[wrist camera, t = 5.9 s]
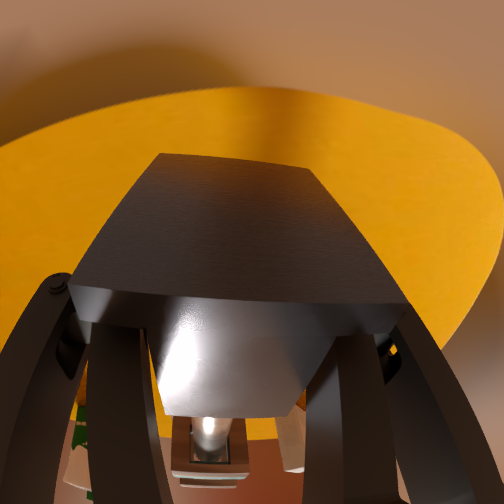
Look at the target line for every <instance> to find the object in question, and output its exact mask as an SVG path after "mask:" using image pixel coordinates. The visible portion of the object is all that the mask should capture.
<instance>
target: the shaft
mask: <svg viewBox="0 0 504 504" xmlns="http://www.w3.org/2000/svg"><path fill="white" fill-rule="evenodd" d="M67 285H68V288H69V291H70V294H71V297H72V300H73V303H74V306H75V309H76V311H77V314H78V317H79V319H80V320H83V321H89V322H95V323H101V324H108V325H115V326H122V327H130V328H138V329H146V334H147V339H148V344H149V349H150V354H151V358H152V363H153V367H154V372H155V376H156V380H157V384H158V388H159V392H160V396H161V399H162V403H163V407H164V410H165V414H166V415H175V416H187V417H191V419H192V431H193V441H194V451H195V455H196V457H197V458H198V459H199V460H201V461H211V462H216V461H218V460H219V459H220V458H221V457H222V454H223V451H224V448H225V444H226V441H227V437H228V434H229V430H230V427H231V423H232V420H233V418H271V417H287V415H288V414H289V413H290V411H291V410H292V408H293V407H294V405H295V404H296V402H297V401H298V399H299V398H300V396H301V395H302V393H303V392H304V390H305V389H306V387H307V385H308V384H309V382H310V381H311V379H312V378H313V376H314V374H315V373H316V371H317V370H318V368H319V366H320V365H321V363H322V361H323V360H324V358H325V356H326V354H327V353H328V351H329V349H330V348H331V346H332V344H333V342H334V341H335V339H336V337H337V336H352V335H368V334H382V333H390V332H391V331H392V329H393V328H394V326H395V325H396V323H397V322H398V320H399V319H400V317H401V315H402V314H403V312H404V311H405V309H406V307H407V306H408V304H409V302H408V300H407V298H406V297H405V295H404V294H403V292H402V291H401V289H400V288H399V286H398V285H397V283H396V282H395V280H394V279H393V277H392V276H391V274H390V273H389V271H388V270H387V268H386V267H385V266H384V264H383V263H382V261H381V260H380V258H379V257H378V256H377V254H376V253H375V251H374V250H373V249H372V247H371V246H370V245H369V243H368V242H367V241H366V239H365V238H364V236H363V235H362V234H361V233H360V231H359V230H358V229H357V227H356V226H355V225H354V223H353V222H352V221H351V219H350V218H349V217H348V216H347V214H346V213H345V212H344V211H343V209H342V208H341V207H340V206H339V204H338V203H337V202H336V201H335V199H334V198H333V197H332V196H331V195H330V193H329V192H328V191H327V190H326V189H325V187H324V186H323V185H322V184H321V183H320V181H319V180H318V179H317V178H316V177H315V176H314V174H313V173H312V172H311V171H310V170H309V169H306V168H300V167H293V166H287V165H280V164H273V163H266V162H258V161H250V160H241V159H232V158H222V157H211V156H199V155H184V154H166V153H159V155H158V156H157V157H156V158H155V159H154V160H153V162H152V163H151V164H150V165H149V166H148V168H147V169H146V170H145V171H144V172H143V174H142V175H141V176H140V177H139V179H138V180H137V181H136V182H135V184H134V185H133V186H132V187H131V189H130V190H129V191H128V193H127V194H126V195H125V197H124V198H123V199H122V201H121V202H120V203H119V205H118V206H117V207H116V209H115V210H114V211H113V213H112V214H111V216H110V217H109V218H108V220H107V221H106V223H105V224H104V226H103V227H102V229H101V230H100V231H99V233H98V234H97V236H96V237H95V239H94V240H93V242H92V244H91V245H90V247H89V248H88V250H87V251H86V253H85V254H84V256H83V258H82V259H81V261H80V263H79V264H78V266H77V268H76V269H75V271H74V273H73V274H72V276H71V278H70V279H69V281H68V283H67Z"/></svg>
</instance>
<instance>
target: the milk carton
mask: <svg viewBox="0 0 504 504" xmlns="http://www.w3.org/2000/svg"><path fill="white" fill-rule="evenodd" d="M63 481H64V482H67V483H69V484H72V485H73V486H75V487H78V488H81V489H84V490H87V499H89V500H92V501H93V497H92V490H91V483H90V475H89V465H88V453H87V435H86V407H78V409H77V416H76V423H75V429H74V435H73V440H72V445H71V452H70V457H69V464H68V467H67V470H66V472H65V476H64V478H63Z"/></svg>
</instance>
